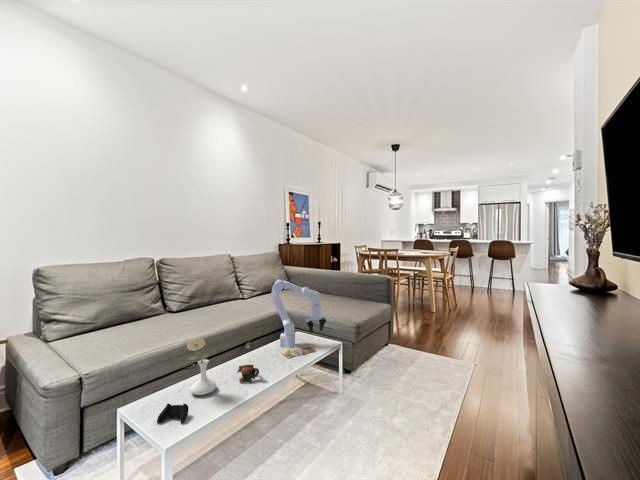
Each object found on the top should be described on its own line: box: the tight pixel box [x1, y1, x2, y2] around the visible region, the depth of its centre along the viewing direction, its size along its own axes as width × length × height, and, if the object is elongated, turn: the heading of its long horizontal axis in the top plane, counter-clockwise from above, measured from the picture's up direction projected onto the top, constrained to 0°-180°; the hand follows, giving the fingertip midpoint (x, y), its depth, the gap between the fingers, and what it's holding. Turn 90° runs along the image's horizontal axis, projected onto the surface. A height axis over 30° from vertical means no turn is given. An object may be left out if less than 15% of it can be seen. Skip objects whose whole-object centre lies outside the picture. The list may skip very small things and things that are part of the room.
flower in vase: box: [186, 337, 217, 396], centre depth 140 cm, size 13×11×25 cm
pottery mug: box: [237, 364, 260, 384], centre depth 153 cm, size 12×10×8 cm
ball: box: [283, 348, 292, 356], centre depth 179 cm, size 4×4×4 cm
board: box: [280, 345, 317, 360], centre depth 184 cm, size 20×9×4 cm, turn 124°
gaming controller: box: [156, 403, 189, 424], centre depth 119 cm, size 11×4×7 cm
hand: (316, 331), depth 197 cm, fingers open, 7 cm apart
